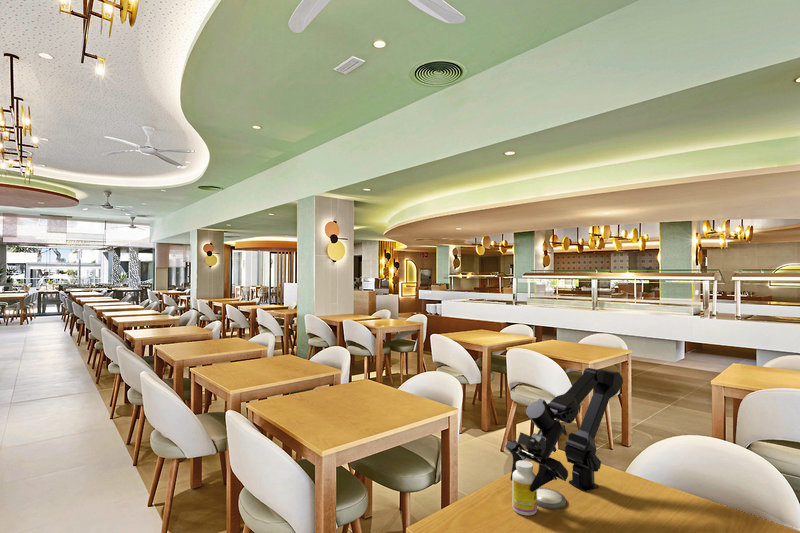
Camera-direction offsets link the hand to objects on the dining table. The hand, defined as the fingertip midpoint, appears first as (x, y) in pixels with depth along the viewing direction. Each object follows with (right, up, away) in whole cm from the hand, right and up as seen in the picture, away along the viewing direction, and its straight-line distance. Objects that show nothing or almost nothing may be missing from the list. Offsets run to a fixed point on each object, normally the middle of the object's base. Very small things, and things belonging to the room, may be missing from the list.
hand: (520, 485), depth 116 cm
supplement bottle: (+1, -7, 0) cm, 7 cm away
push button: (+10, -7, +6) cm, 13 cm away
